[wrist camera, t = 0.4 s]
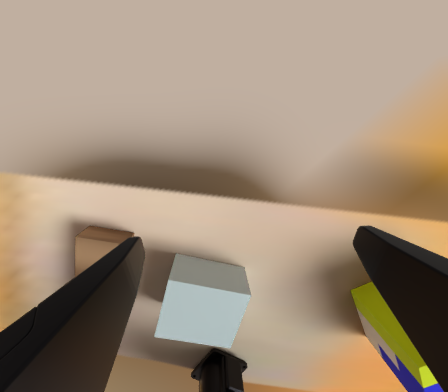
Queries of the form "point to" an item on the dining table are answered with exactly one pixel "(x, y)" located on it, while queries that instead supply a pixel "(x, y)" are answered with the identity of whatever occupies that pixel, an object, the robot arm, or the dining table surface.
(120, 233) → the board
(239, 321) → the block
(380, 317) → the puzzle toy
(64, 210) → the dining table surface
